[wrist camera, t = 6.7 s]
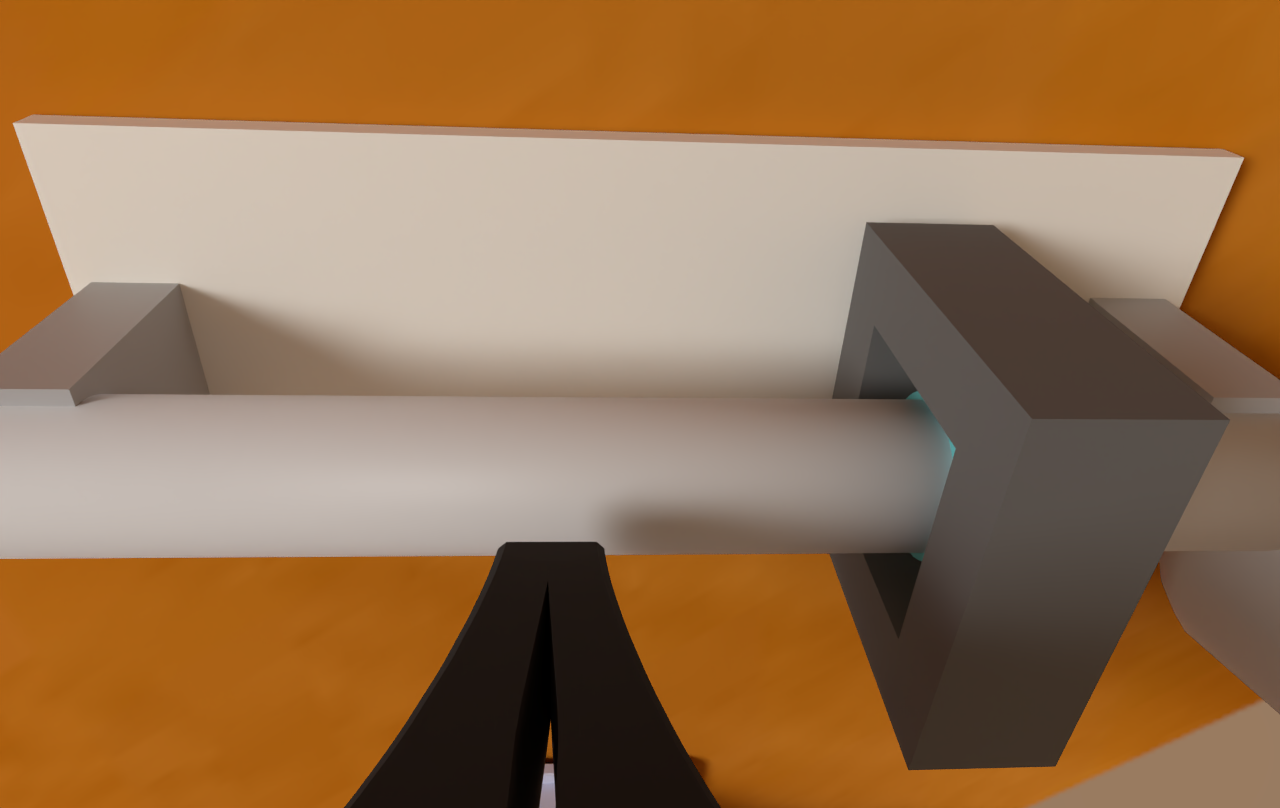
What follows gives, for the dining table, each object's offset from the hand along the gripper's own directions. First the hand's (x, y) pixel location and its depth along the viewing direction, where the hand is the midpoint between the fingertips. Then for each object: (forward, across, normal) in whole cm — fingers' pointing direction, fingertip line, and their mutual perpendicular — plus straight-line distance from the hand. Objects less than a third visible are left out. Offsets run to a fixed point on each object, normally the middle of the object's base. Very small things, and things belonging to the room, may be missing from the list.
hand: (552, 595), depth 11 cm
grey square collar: (+6, -7, 0) cm, 9 cm away
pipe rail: (+7, -2, 0) cm, 7 cm away
